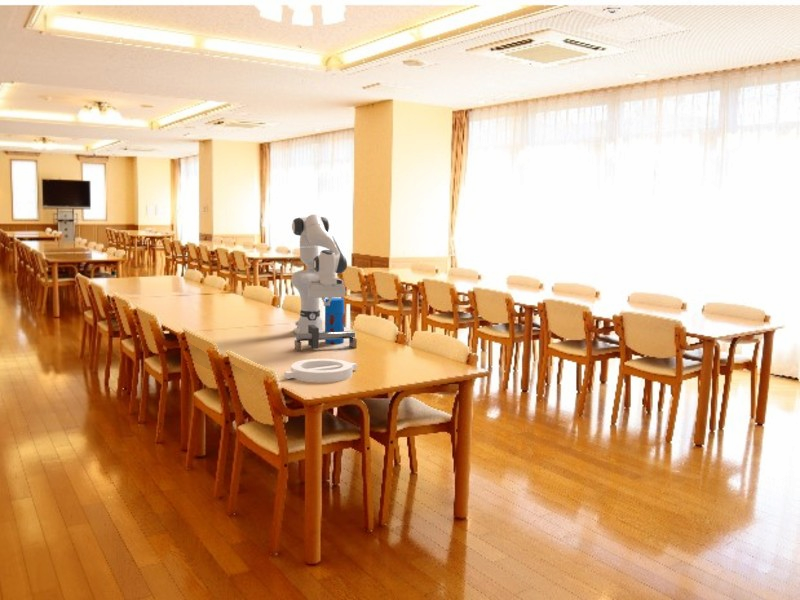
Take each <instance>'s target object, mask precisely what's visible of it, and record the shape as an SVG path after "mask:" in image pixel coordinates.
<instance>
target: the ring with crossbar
mask: <svg viewBox="0 0 800 600" xmlns="http://www.w3.org/2000/svg"><path fill="white" fill-rule="evenodd" d="M354 370H358V363H355V362H349V361H346V360H342V359H337V358H336V359H335V358H334V359H333V358H312V359H311V358H310V359H302V360H299V361H296V362H293V363H292V364H291V366H290V370H286V371H284V378H285V379H294V380H297V381H300V382H307V383H335V382H342V381H345V380H348V379H350V378H352V377H353V375H354V374H353V371H354Z"/></svg>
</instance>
